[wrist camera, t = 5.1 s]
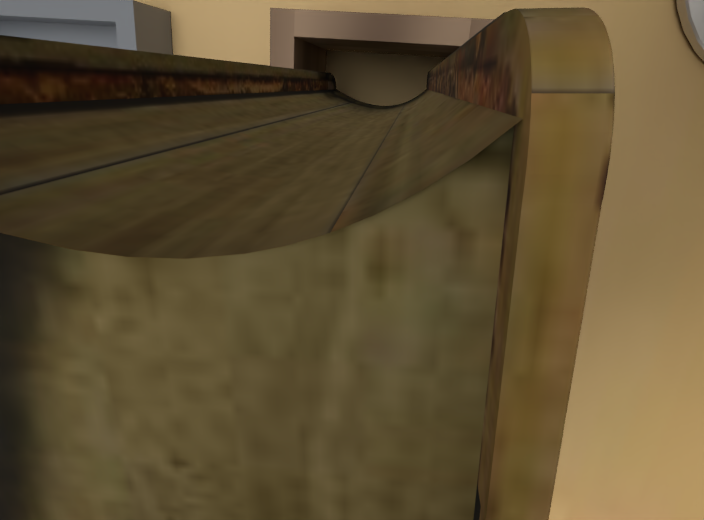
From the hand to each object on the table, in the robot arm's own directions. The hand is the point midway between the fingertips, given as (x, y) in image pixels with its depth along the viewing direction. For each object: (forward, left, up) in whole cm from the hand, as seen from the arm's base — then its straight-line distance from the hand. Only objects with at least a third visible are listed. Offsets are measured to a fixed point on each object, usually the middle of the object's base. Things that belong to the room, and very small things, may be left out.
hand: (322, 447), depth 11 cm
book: (0, 0, -19) cm, 19 cm away
